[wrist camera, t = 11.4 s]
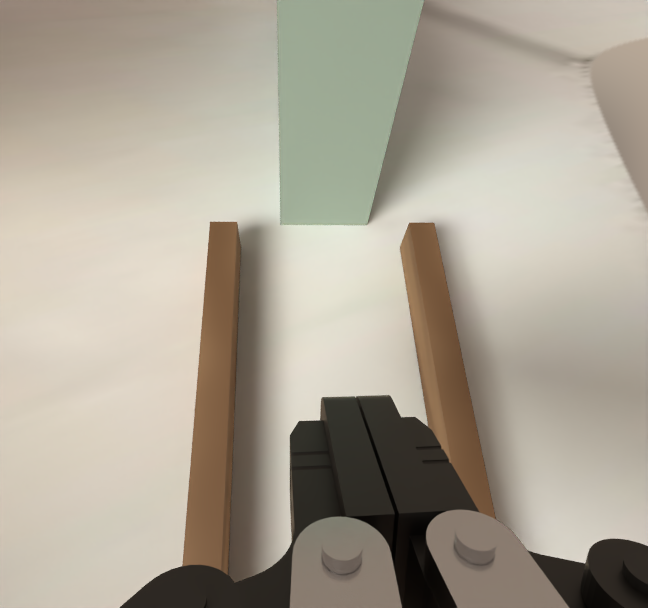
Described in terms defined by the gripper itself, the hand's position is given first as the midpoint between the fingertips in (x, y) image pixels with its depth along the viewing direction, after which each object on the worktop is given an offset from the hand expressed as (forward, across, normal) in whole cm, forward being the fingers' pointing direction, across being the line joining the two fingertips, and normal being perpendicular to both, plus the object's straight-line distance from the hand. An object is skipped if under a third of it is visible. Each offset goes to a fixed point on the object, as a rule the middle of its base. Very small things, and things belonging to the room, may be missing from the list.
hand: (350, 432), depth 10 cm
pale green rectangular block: (+21, -1, -9) cm, 23 cm away
